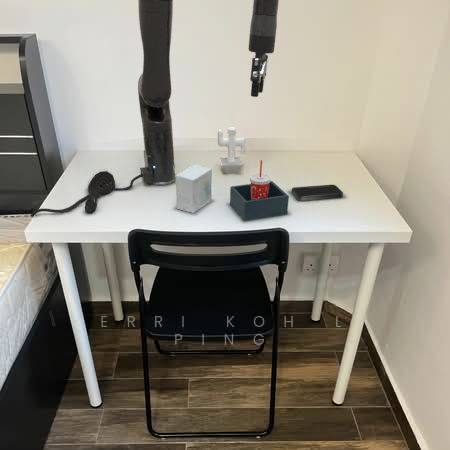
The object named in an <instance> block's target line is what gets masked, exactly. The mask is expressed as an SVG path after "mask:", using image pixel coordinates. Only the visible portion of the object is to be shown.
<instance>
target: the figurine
mask: <svg viewBox="0 0 450 450" xmlns="http://www.w3.org/2000/svg"><path fill="white" fill-rule="evenodd" d="M223 133H224V132H223V130H222V129H221V128H219V129H218V130H217V145H218V146H219V147H226V148H227V157H219V159H220V163H221V166H222V169H223V171H224V173H225V175H234V174H236V175H237V174H239V173H240V171H241V170H242V167H243V166H244V162H243V160H242V157H241V156H240V157H239V156H236V147H239V148H240V150H239V151H240V154H241V155H245V153H246V138H244V137H236V134H237V127H236V126H232V125H231V126H228V127H227V137H224V134H223Z"/></svg>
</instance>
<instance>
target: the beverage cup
mask: <svg viewBox="0 0 450 450" xmlns="http://www.w3.org/2000/svg"><path fill="white" fill-rule="evenodd" d="M262 169H263V160H262V159H261V160H260V165H259V173H254V174H251V175H250V176H249V182H250V184H251V200H256V199H263V198H268V191H269V184H270V182H271V181H272V177H271V176H270V175H268V174H265V173H262Z"/></svg>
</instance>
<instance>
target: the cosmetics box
mask: <svg viewBox="0 0 450 450" xmlns="http://www.w3.org/2000/svg"><path fill="white" fill-rule="evenodd" d="M212 171H213V170H212V167H211V168H210V167H207V166H202V165H199V164H193V165H191V166H190V167H187V168H186V169H184V170H183V171H181V172H179V173H177V174H175V196H176V199H175V200H176V201H175V202H176V207H175V209H177V210H181V211H184V212H188V213H191V214H195V213H196V212H197V211H199V210H200V209H202V208H203V207H204V206H207V204H209V203H210V202H212V182H213V181H212V175H213V174H212Z"/></svg>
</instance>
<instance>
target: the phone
mask: <svg viewBox="0 0 450 450" xmlns="http://www.w3.org/2000/svg"><path fill="white" fill-rule="evenodd" d="M291 194H292V195H293V196H294V197H295V199H296V200H297V201H300V202H302V201H303V202H305V201H315V200H317V201H318V200H328V199H329V200H330V199H341V198H343V197H344V192H343V191H342V190H341V188H339V187H338V185H336V184H322V185H307V186H293V187H291Z"/></svg>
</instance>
